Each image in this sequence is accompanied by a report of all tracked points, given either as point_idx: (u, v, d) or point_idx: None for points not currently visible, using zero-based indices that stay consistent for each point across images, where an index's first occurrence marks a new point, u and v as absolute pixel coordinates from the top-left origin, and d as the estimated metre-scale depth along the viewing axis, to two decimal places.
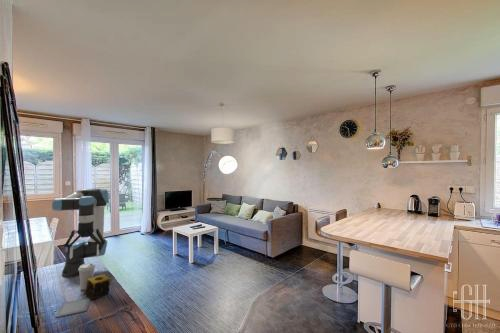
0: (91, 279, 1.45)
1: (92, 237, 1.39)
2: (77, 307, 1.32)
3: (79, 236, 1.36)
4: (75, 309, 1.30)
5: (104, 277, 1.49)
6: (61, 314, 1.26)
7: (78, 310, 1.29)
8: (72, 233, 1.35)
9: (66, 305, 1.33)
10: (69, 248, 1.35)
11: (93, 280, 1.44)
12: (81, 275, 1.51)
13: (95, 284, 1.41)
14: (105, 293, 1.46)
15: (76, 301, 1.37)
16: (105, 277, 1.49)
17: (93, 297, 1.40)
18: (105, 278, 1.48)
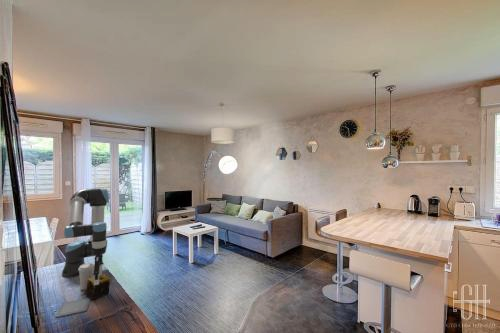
0: (91, 279, 1.45)
1: None
2: (77, 307, 1.32)
3: None
4: (75, 309, 1.30)
5: (104, 277, 1.49)
6: (61, 314, 1.26)
7: (78, 310, 1.29)
8: None
9: (66, 305, 1.33)
10: None
11: (93, 280, 1.44)
12: (81, 275, 1.51)
13: None
14: (105, 293, 1.46)
15: (76, 301, 1.37)
16: (105, 277, 1.49)
17: (93, 297, 1.40)
18: (105, 278, 1.48)
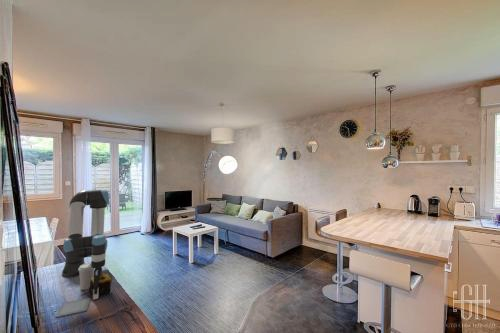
0: None
1: None
2: (77, 307, 1.32)
3: None
4: (75, 309, 1.30)
5: (106, 277, 1.49)
6: (61, 314, 1.26)
7: (78, 310, 1.29)
8: None
9: (66, 305, 1.33)
10: None
11: None
12: (81, 275, 1.51)
13: None
14: (106, 293, 1.46)
15: (76, 301, 1.37)
16: (107, 277, 1.49)
17: None
18: (107, 278, 1.48)
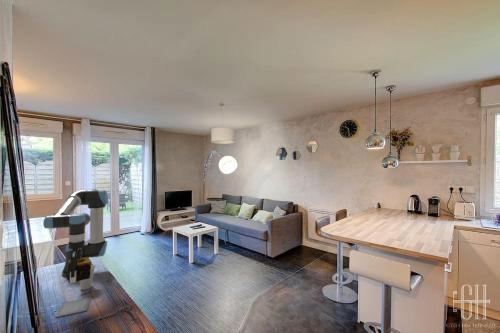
0: None
1: None
2: (77, 307, 1.32)
3: None
4: (75, 309, 1.30)
5: (86, 260, 1.36)
6: (61, 314, 1.26)
7: (78, 310, 1.29)
8: None
9: (66, 305, 1.33)
10: None
11: None
12: None
13: None
14: (85, 277, 1.33)
15: (76, 301, 1.37)
16: (87, 260, 1.36)
17: None
18: (86, 261, 1.34)
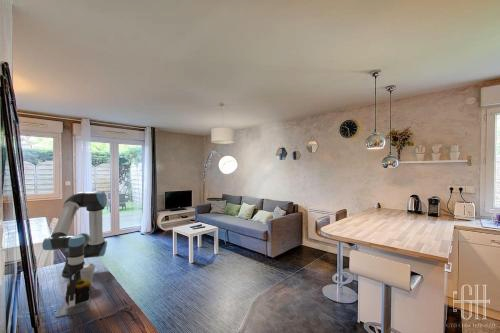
0: None
1: None
2: (77, 307, 1.32)
3: None
4: (75, 309, 1.30)
5: (85, 281, 1.36)
6: (61, 314, 1.26)
7: (78, 310, 1.29)
8: None
9: (66, 305, 1.33)
10: None
11: None
12: (81, 275, 1.51)
13: None
14: (84, 299, 1.32)
15: None
16: (86, 281, 1.36)
17: None
18: (85, 283, 1.34)
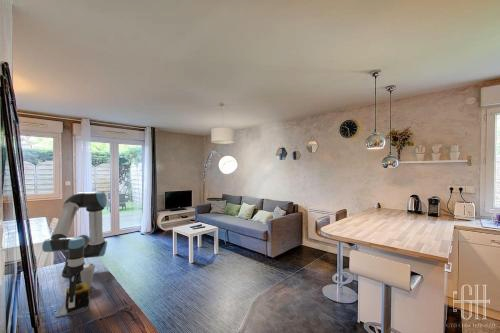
0: None
1: None
2: None
3: None
4: None
5: (84, 287, 1.36)
6: (61, 314, 1.26)
7: (78, 310, 1.29)
8: None
9: None
10: (76, 284, 1.39)
11: None
12: (81, 275, 1.51)
13: None
14: (84, 305, 1.32)
15: None
16: (85, 287, 1.36)
17: (69, 310, 1.27)
18: (84, 288, 1.34)
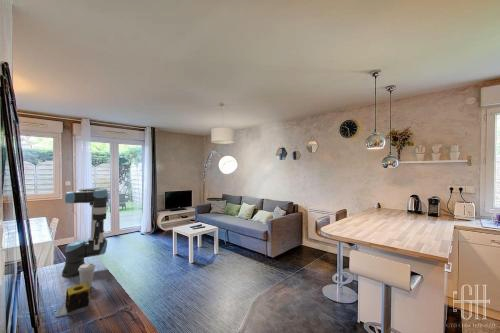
0: (70, 289, 1.33)
1: None
2: None
3: None
4: None
5: (84, 287, 1.36)
6: (61, 314, 1.26)
7: (78, 310, 1.29)
8: None
9: None
10: (99, 233, 1.54)
11: (71, 290, 1.31)
12: (81, 275, 1.51)
13: (70, 296, 1.28)
14: (84, 305, 1.32)
15: None
16: (85, 287, 1.36)
17: (69, 310, 1.27)
18: (84, 288, 1.34)
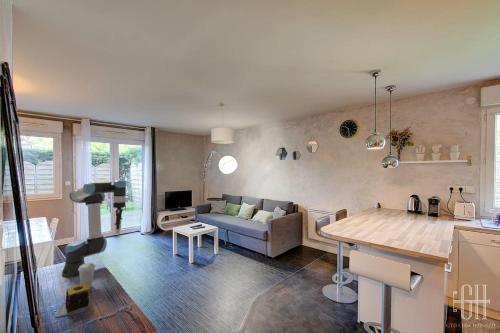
0: (70, 289, 1.33)
1: None
2: None
3: None
4: None
5: (84, 287, 1.36)
6: (61, 314, 1.26)
7: (78, 310, 1.29)
8: None
9: None
10: None
11: (71, 290, 1.31)
12: (81, 275, 1.51)
13: (70, 296, 1.28)
14: (84, 305, 1.32)
15: None
16: (85, 287, 1.36)
17: (69, 310, 1.27)
18: (84, 288, 1.34)
